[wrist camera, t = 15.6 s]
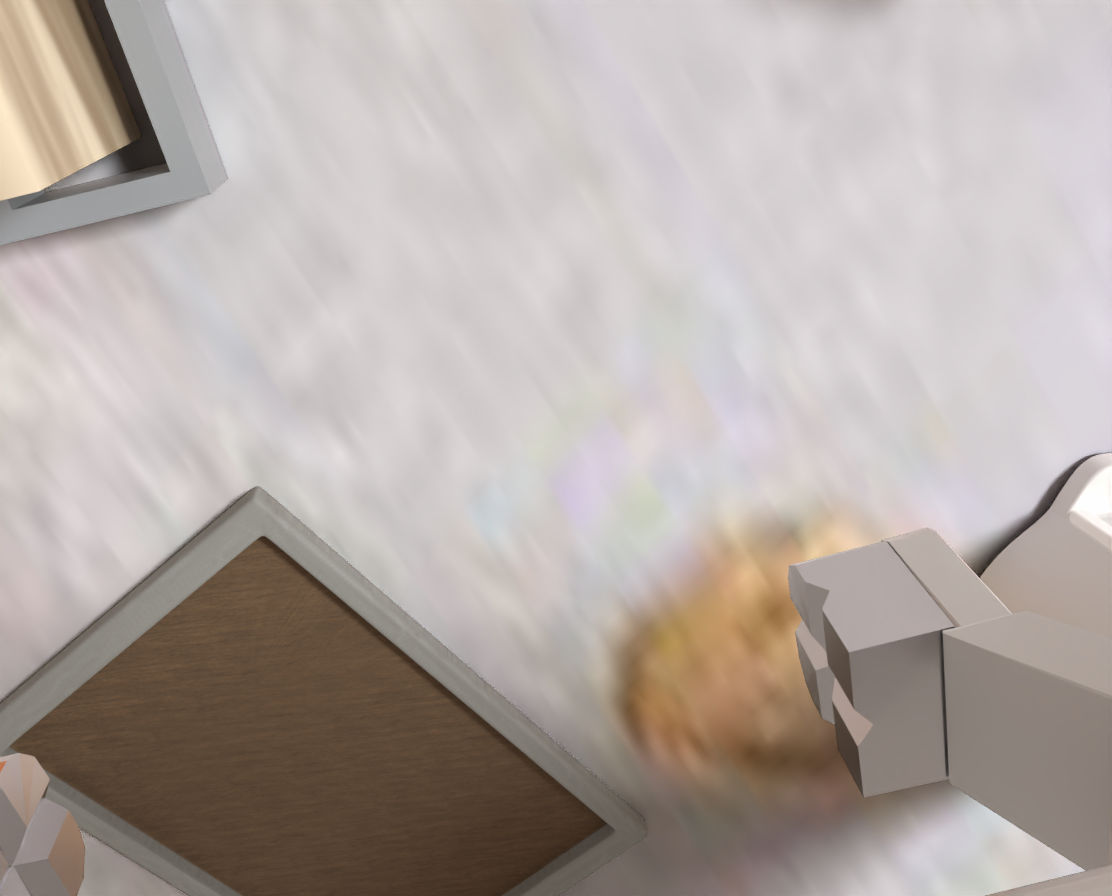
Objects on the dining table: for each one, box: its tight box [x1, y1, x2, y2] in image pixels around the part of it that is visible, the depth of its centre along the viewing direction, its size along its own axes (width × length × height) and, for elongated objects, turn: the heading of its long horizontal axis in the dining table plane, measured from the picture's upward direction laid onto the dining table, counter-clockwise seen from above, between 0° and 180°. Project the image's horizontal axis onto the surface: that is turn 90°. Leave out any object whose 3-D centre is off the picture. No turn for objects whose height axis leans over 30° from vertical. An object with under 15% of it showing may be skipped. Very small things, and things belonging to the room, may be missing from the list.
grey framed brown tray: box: [0, 486, 647, 896], centre depth 49 cm, size 19×2×30 cm
